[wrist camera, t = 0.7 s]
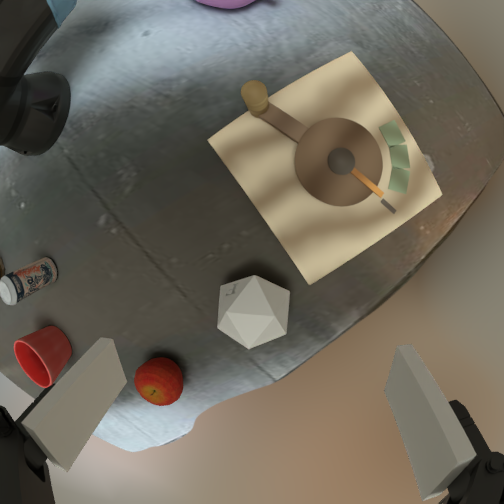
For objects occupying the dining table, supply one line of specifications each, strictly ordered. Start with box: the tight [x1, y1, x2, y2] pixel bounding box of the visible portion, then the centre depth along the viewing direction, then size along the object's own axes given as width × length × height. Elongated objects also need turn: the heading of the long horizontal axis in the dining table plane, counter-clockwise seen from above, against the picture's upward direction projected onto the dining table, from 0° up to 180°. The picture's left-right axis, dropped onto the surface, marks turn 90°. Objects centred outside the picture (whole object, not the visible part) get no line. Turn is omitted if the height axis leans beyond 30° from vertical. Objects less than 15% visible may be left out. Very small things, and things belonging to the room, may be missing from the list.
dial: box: [241, 80, 384, 207], centre depth 27 cm, size 18×10×7 cm, turn 55°
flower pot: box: [14, 326, 72, 388], centre depth 41 cm, size 11×11×10 cm
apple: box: [134, 357, 183, 406], centre depth 39 cm, size 8×8×8 cm
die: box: [217, 275, 290, 349], centre depth 34 cm, size 8×9×10 cm
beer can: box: [0, 257, 57, 305], centre depth 35 cm, size 5×5×12 cm
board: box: [208, 51, 442, 285], centre depth 32 cm, size 22×22×1 cm
